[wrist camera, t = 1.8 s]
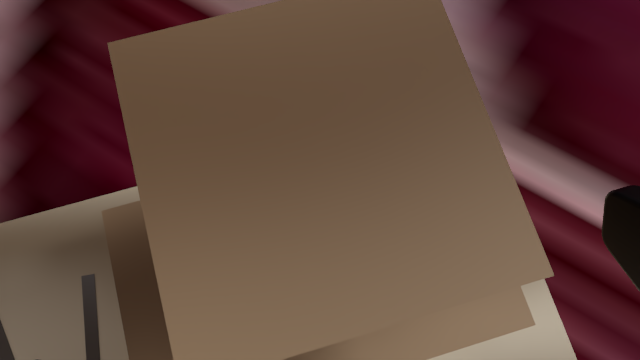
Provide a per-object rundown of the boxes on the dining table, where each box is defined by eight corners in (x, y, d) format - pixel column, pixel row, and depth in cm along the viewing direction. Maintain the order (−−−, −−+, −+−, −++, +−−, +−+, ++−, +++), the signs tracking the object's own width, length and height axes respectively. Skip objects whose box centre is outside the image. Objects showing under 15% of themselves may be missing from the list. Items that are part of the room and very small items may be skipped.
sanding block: (496, 326, 16) (933, 306, 5) (176, 427, 15) (-217, 700, 4) (430, 150, 18) (643, -181, 6) (136, 231, 17) (-227, 16, 6)
